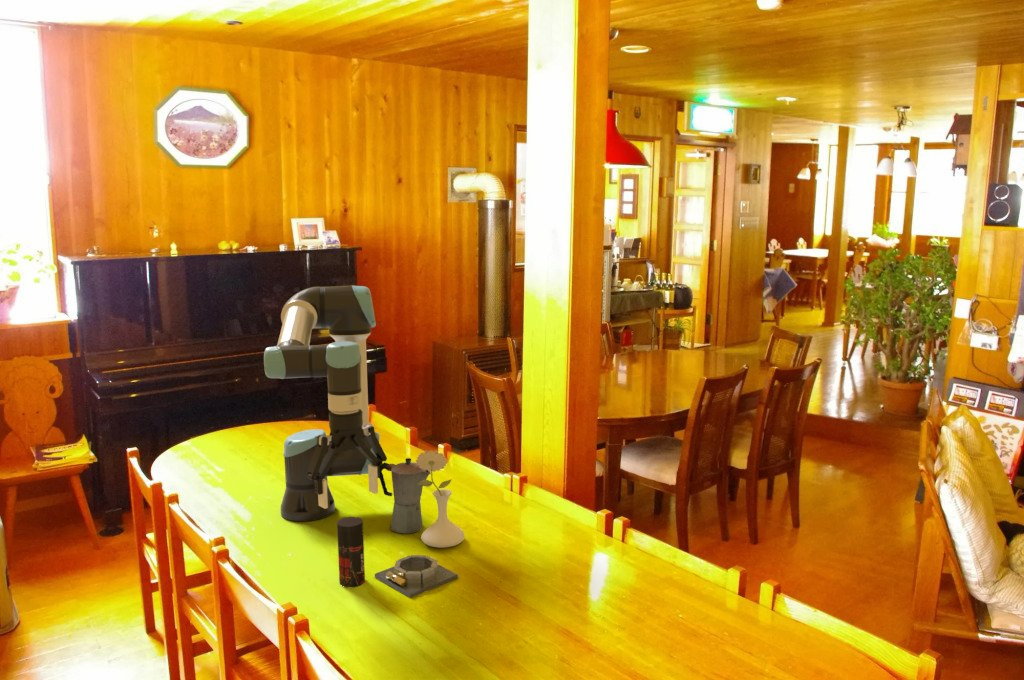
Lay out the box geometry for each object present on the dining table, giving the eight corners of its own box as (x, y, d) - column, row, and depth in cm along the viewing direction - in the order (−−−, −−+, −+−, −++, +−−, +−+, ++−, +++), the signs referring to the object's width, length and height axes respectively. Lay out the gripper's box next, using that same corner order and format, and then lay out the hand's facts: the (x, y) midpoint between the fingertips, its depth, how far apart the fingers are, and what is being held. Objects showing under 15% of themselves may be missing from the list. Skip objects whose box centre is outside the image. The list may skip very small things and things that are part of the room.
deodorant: (341, 576, 199) (338, 517, 196) (366, 575, 199) (363, 516, 197) (338, 588, 193) (335, 527, 190) (363, 587, 193) (361, 526, 191)
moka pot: (426, 537, 221) (425, 465, 218) (372, 532, 224) (369, 461, 221) (437, 523, 230) (435, 454, 227) (384, 519, 233) (382, 450, 230)
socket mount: (374, 577, 198) (374, 563, 197) (421, 559, 208) (421, 546, 207) (410, 598, 188) (409, 583, 188) (457, 578, 198) (457, 564, 197)
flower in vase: (471, 537, 221) (470, 446, 217) (454, 554, 211) (453, 460, 206) (426, 530, 225) (424, 442, 221) (408, 547, 215) (405, 454, 210)
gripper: (304, 423, 178) (309, 517, 181) (399, 403, 194) (402, 490, 198) (287, 417, 183) (292, 508, 186) (381, 398, 200) (384, 482, 203)
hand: (349, 499), depth 192 cm, fingers open, 13 cm apart
